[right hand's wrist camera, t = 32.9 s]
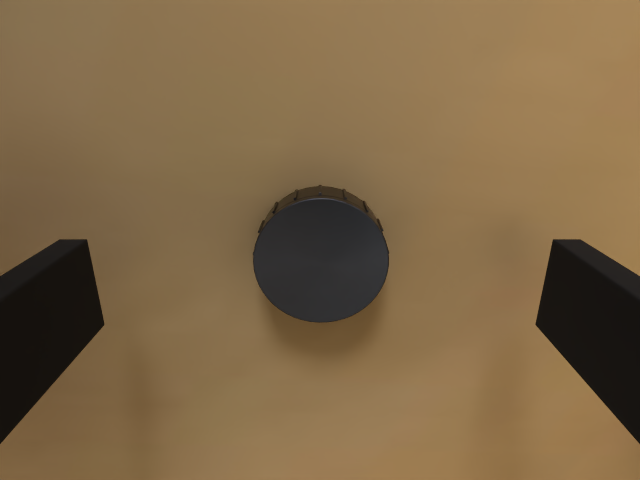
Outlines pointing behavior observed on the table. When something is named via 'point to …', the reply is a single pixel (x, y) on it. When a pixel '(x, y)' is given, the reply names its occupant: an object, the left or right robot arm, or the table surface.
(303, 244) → the cap
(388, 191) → the table surface
